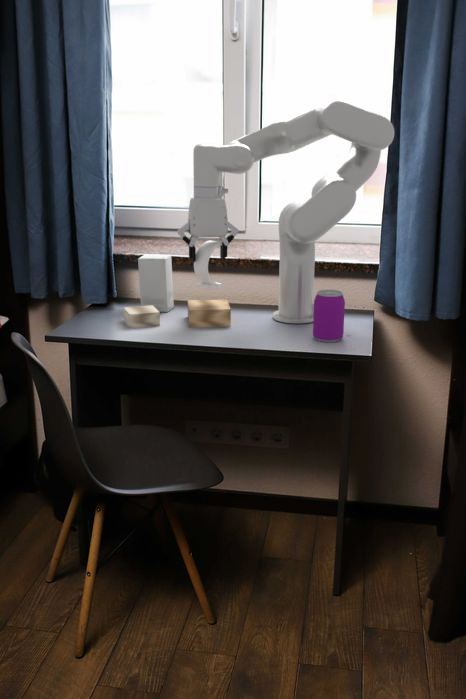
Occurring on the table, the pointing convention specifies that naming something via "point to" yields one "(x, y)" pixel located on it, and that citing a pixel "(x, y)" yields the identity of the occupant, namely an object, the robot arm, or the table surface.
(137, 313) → the birch block
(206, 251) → the white crescent piece
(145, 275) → the skincare box
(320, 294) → the beverage can
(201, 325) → the oak block
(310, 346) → the table surface
